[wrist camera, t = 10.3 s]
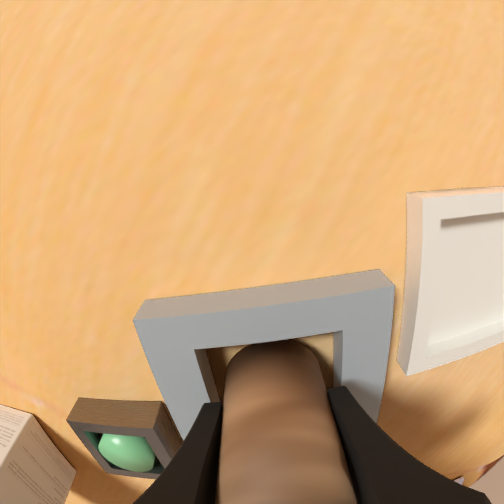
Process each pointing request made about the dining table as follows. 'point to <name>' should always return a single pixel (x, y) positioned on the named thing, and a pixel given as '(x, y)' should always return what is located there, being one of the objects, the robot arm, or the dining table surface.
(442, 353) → the white square tray
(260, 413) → the cylinder
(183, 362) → the grey frame
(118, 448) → the button
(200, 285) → the dining table surface
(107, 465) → the switch box
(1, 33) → the dining table surface
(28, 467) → the supplement box
